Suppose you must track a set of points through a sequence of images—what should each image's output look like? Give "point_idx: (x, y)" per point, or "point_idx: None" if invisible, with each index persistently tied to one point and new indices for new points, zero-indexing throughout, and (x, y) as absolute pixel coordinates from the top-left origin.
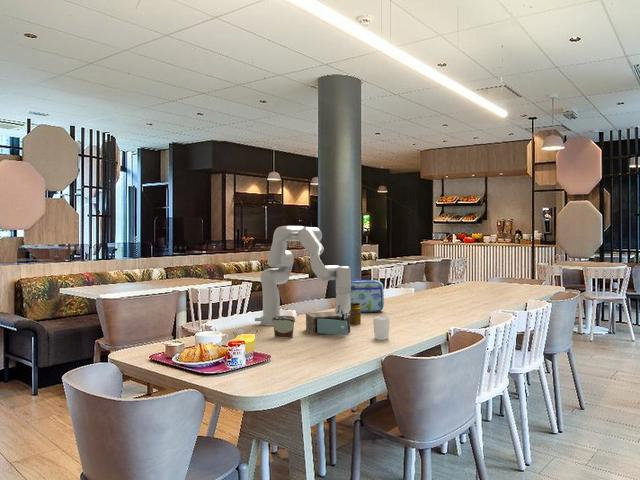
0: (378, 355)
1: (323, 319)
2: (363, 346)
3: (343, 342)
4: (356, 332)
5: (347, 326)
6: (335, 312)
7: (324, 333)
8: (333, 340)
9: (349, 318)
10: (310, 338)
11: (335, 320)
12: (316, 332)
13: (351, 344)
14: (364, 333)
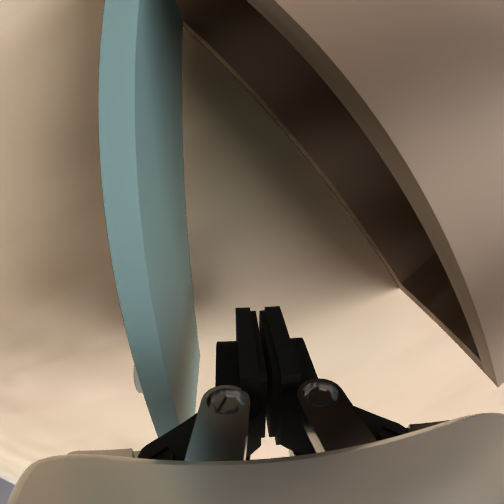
0: (4, 475)
1: (107, 42)
2: (43, 451)
3: (30, 366)
4: (399, 331)
5: (193, 412)
6: (24, 472)
7: (235, 74)
8: (28, 287)
9: (471, 356)
10: (12, 72)
11: (128, 328)
12: (183, 4)
13: (29, 409)
14: (371, 389)
